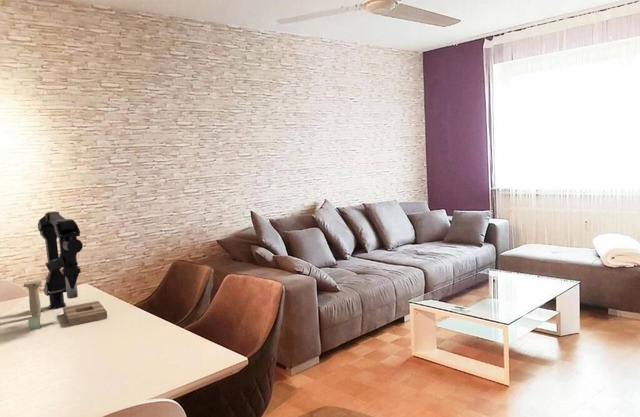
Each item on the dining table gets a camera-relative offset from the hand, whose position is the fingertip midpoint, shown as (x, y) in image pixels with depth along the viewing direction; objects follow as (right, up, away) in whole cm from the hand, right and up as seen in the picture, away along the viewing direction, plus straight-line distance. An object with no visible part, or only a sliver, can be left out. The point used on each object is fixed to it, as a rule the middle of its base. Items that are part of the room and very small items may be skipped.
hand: (71, 287), depth 200 cm
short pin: (-10, -15, -9) cm, 20 cm away
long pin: (0, -4, 0) cm, 4 cm away
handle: (-18, -14, +6) cm, 23 cm away
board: (+4, -13, +4) cm, 14 cm away
